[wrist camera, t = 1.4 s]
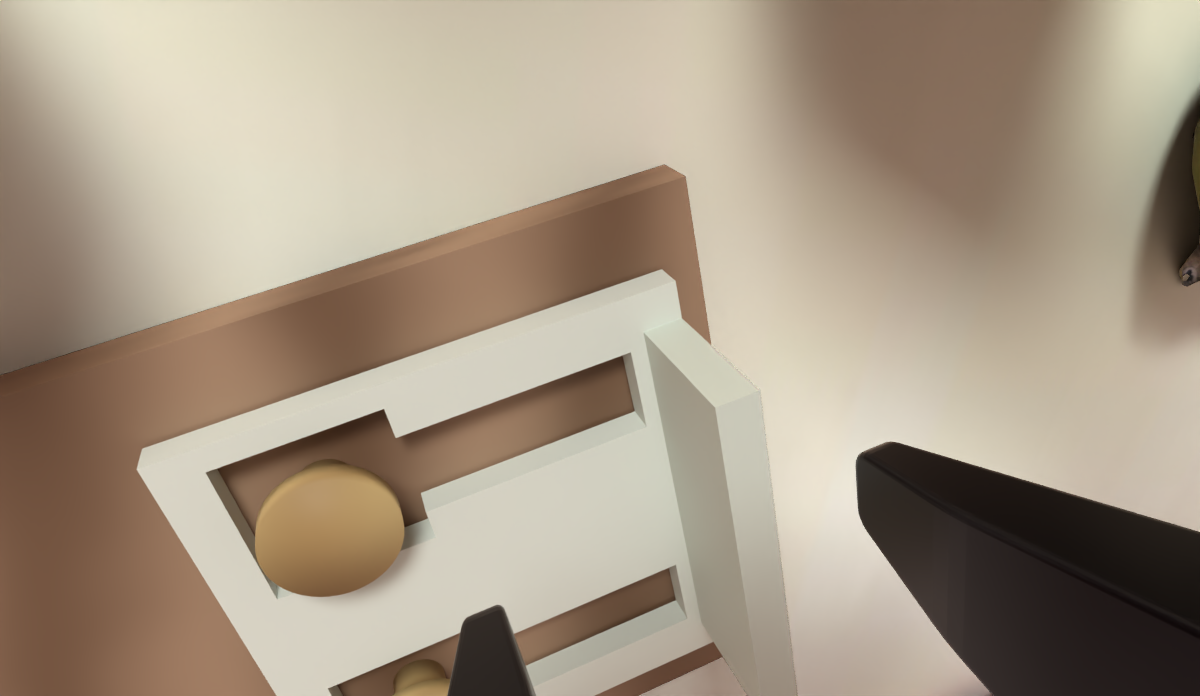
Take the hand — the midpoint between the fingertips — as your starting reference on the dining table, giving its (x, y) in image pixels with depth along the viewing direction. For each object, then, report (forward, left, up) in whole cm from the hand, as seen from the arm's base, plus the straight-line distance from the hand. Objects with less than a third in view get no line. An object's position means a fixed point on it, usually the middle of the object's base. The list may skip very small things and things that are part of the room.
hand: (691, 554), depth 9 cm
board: (+5, +8, -12) cm, 15 cm away
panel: (+2, +8, -11) cm, 14 cm away
